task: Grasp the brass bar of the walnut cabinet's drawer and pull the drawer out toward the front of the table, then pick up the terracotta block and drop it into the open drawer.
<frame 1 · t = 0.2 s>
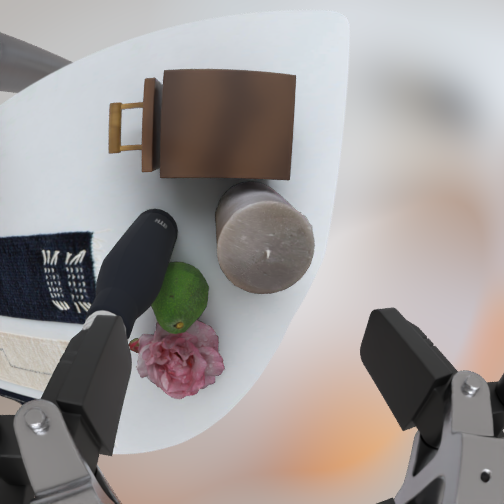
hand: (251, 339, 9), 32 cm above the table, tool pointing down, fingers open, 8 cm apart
flower: (180, 341, 47), on the table
fruit: (182, 276, 43), on the table
pillar candle: (250, 214, 41), on the table
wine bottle: (155, 230, 40), on the table
cabinet: (224, 126, 36), on the table
drawer: (181, 124, 31), point 5 cm above the table, slide at 1.0 cm
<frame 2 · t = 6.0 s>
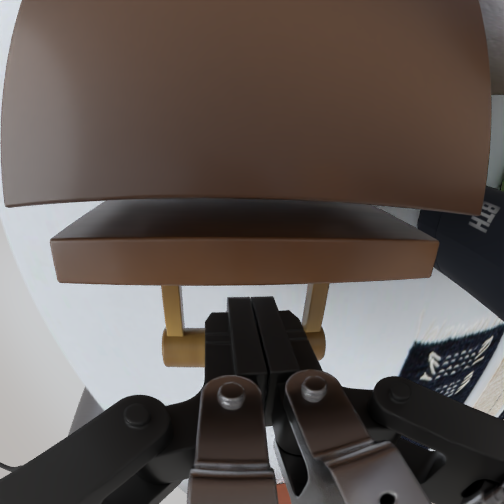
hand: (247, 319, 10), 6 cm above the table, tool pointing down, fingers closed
block: (278, 489, 28), on the table
pillar candle: (434, 27, 11), on the table
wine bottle: (448, 222, 17), on the table
cabinet: (244, 31, 11), on the table
drawer: (250, 122, 9), point 5 cm above the table, slide at 1.0 cm, touching gripper
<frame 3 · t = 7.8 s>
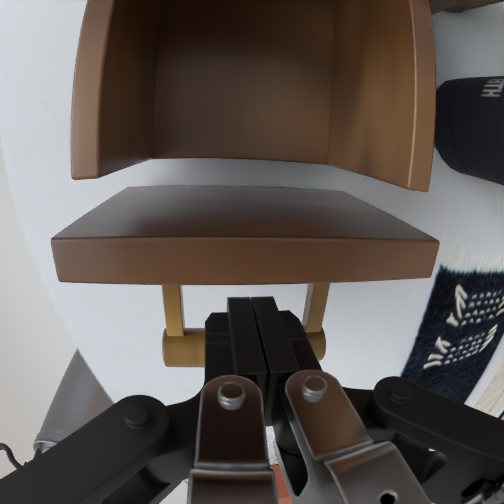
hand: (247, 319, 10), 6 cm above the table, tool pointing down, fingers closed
block: (285, 470, 26), on the table
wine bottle: (460, 125, 14), on the table
drawer: (251, 123, 9), point 5 cm above the table, slide at 7.8 cm, touching gripper
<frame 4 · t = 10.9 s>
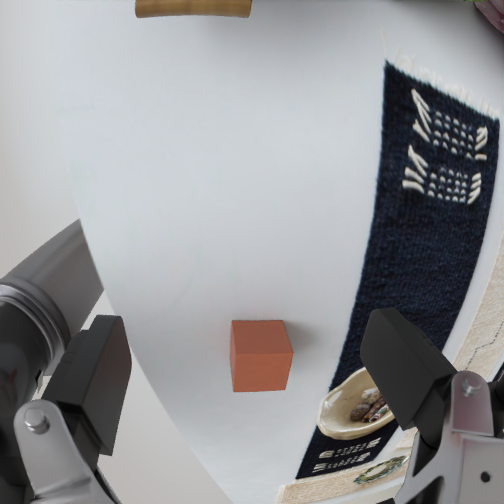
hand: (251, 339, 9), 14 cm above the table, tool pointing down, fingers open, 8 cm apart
block: (255, 340, 26), on the table
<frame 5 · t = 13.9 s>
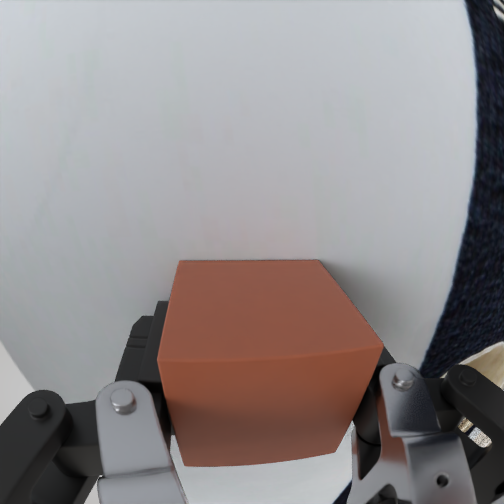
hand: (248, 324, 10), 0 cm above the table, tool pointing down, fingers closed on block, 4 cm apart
block: (247, 319, 10), on the table, touching gripper
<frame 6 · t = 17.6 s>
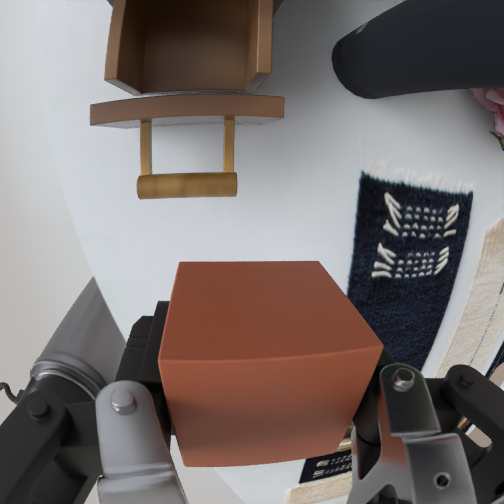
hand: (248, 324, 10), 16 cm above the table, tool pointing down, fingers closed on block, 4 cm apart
flower: (490, 97, 22), on the table
block: (247, 320, 10), point 15 cm above the table, touching gripper
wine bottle: (363, 66, 21), on the table
drawer: (190, 64, 15), point 5 cm above the table, slide at 8.0 cm
when the fingers open (7 cm above the table, at t = 21.6 s): block stays where it is, resting on drawer.
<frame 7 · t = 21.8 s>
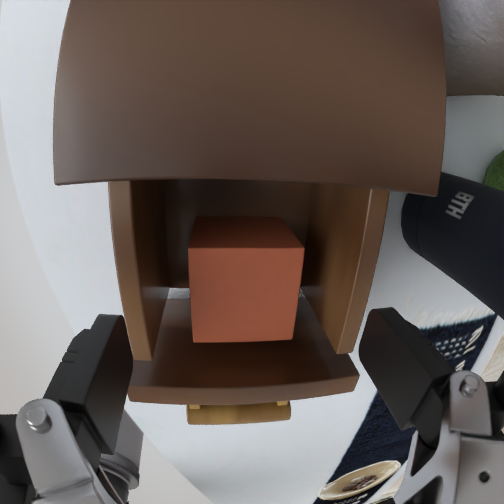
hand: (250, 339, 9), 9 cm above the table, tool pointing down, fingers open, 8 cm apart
fruit: (490, 180, 18), on the table
block: (237, 256, 16), point 2 cm above the table, touching drawer
pillar candle: (418, 34, 13), on the table
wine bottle: (431, 213, 19), on the table
cabinet: (244, 43, 13), on the table
drawer: (240, 289, 14), point 5 cm above the table, slide at 8.3 cm, touching block
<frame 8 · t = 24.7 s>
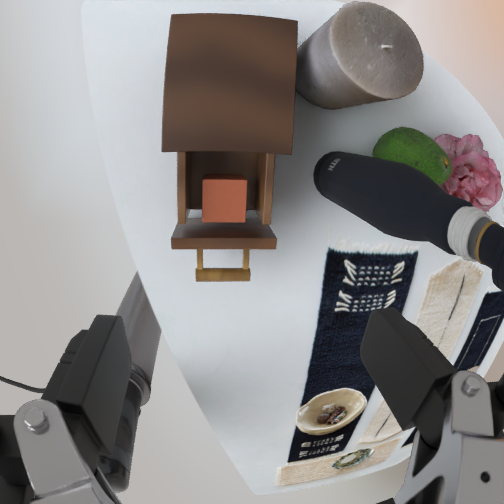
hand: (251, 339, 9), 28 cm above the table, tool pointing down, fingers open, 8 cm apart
flower: (444, 175, 38), on the table
fruit: (384, 155, 36), on the table
block: (223, 193, 33), point 2 cm above the table, touching drawer
pillar candle: (325, 73, 31), on the table
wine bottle: (335, 175, 36), on the table
cabinet: (226, 93, 30), on the table
drawer: (223, 202, 31), point 5 cm above the table, slide at 8.3 cm, touching block
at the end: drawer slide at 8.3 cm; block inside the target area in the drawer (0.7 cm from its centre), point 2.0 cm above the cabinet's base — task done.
